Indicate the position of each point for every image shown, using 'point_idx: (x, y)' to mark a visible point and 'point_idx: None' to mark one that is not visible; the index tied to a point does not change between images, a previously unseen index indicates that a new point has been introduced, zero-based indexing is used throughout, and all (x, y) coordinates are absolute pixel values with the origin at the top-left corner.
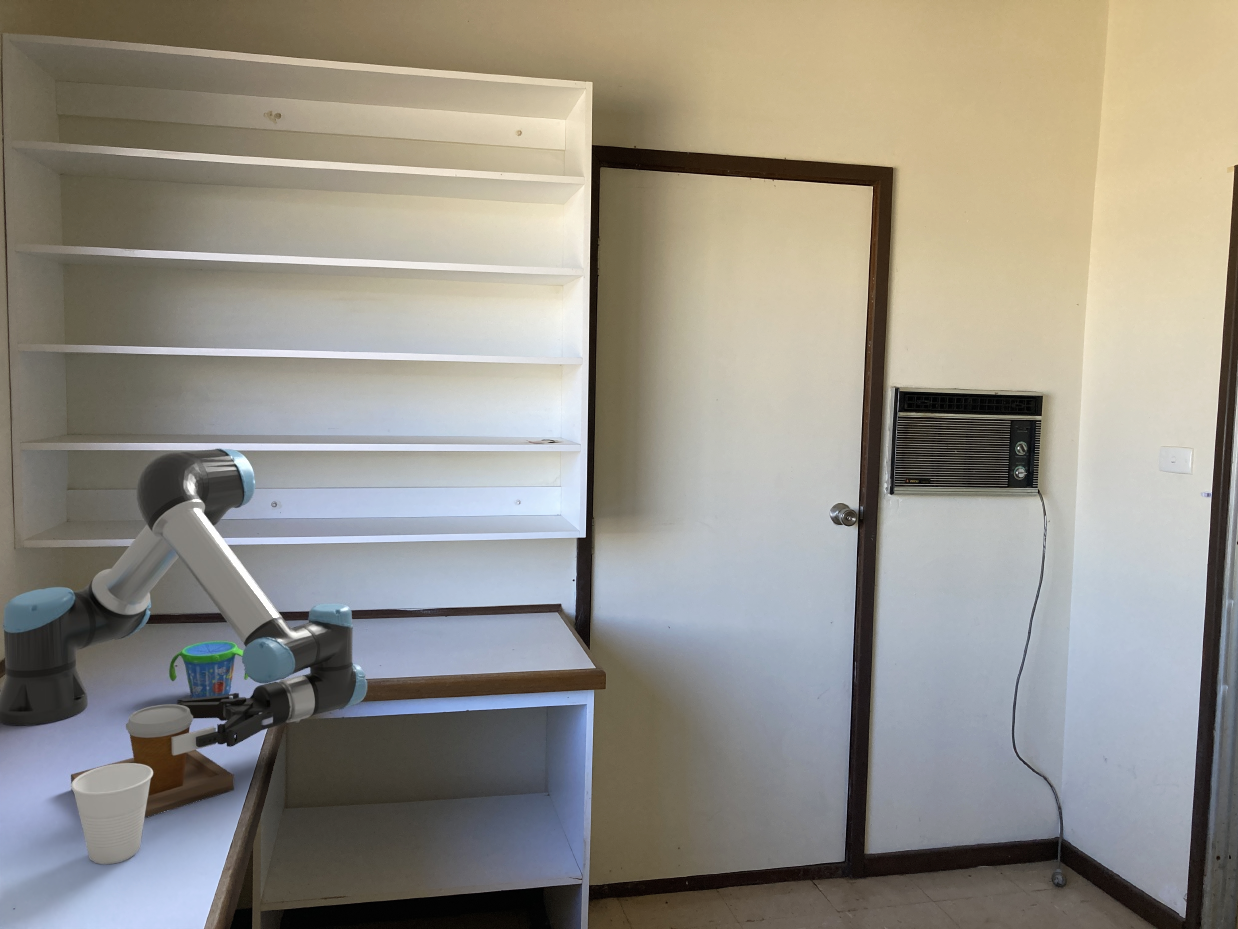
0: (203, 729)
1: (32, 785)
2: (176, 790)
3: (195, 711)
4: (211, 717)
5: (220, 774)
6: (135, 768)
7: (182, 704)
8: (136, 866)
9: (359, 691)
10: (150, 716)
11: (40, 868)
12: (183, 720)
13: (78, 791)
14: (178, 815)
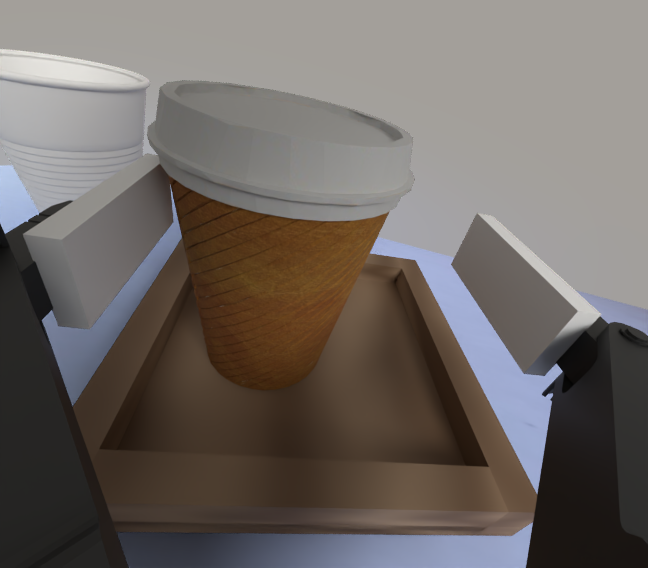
0: (91, 205)
1: (452, 269)
2: (149, 310)
3: (577, 407)
4: (536, 520)
5: (96, 455)
6: (70, 93)
7: (621, 335)
8: (15, 220)
9: None
10: (313, 117)
11: None
12: (161, 113)
13: (78, 59)
14: (103, 325)
